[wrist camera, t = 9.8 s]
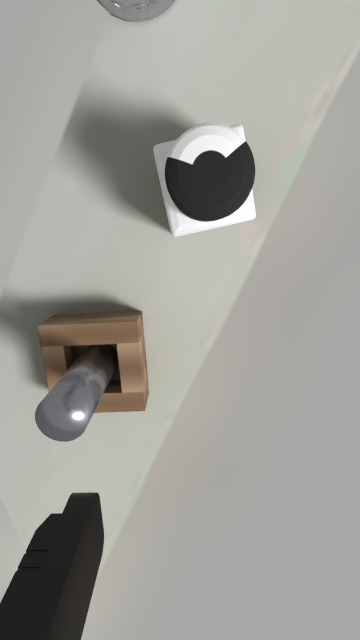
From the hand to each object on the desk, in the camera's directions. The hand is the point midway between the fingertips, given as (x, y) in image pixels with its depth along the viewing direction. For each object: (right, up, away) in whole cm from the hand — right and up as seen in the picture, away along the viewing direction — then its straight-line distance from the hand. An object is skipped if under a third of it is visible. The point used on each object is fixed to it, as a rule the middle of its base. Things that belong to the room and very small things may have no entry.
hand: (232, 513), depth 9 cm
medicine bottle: (+1, +19, +23) cm, 30 cm away
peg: (-11, +1, +27) cm, 29 cm away
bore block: (-11, +2, +28) cm, 30 cm away
